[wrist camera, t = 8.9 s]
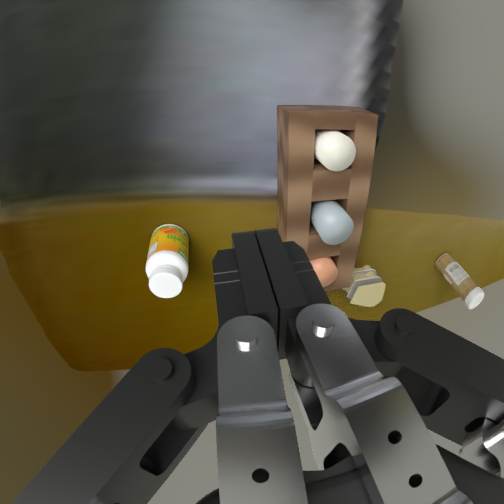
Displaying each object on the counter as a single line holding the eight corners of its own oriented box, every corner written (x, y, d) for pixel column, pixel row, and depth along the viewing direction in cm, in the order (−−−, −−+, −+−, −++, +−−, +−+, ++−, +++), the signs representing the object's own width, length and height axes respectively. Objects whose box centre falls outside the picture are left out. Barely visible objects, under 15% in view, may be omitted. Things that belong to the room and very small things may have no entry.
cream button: (306, 124, 33) (321, 134, 29) (338, 124, 33) (357, 134, 29) (305, 157, 35) (319, 172, 31) (336, 156, 36) (353, 170, 32)
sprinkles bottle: (432, 270, 56) (466, 313, 45) (436, 254, 53) (473, 298, 42) (447, 264, 56) (480, 305, 45) (451, 249, 53) (487, 290, 42)
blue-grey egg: (308, 196, 37) (322, 215, 33) (339, 193, 37) (356, 212, 33) (306, 225, 39) (318, 246, 35) (335, 222, 40) (350, 242, 36)
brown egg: (300, 245, 44) (310, 266, 40) (327, 241, 44) (340, 262, 40) (298, 268, 46) (308, 289, 42) (324, 264, 47) (335, 285, 43)
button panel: (277, 105, 32) (288, 112, 28) (358, 107, 33) (378, 115, 29) (276, 277, 48) (283, 298, 44) (338, 267, 49) (349, 287, 45)
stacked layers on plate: (326, 293, 53) (336, 315, 49) (341, 254, 48) (355, 276, 44) (369, 291, 56) (381, 311, 51) (386, 255, 50) (401, 274, 46)
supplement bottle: (196, 235, 41) (197, 282, 33) (175, 260, 43) (172, 308, 35) (164, 216, 38) (157, 260, 31) (144, 242, 40) (135, 290, 33)
